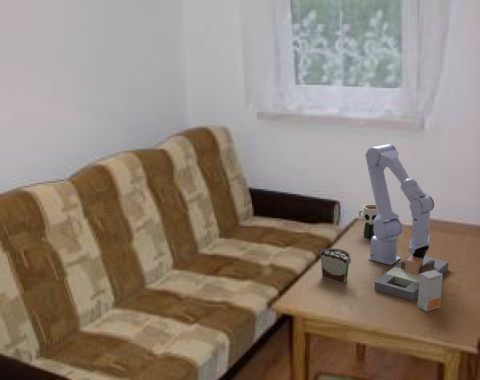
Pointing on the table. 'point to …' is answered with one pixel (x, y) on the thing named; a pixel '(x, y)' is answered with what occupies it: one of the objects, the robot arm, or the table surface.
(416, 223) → the robot arm
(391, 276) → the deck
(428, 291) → the skincare box
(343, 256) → the food container
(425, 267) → the tunnel walls
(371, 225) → the character mug
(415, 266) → the terracotta block
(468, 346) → the table surface
